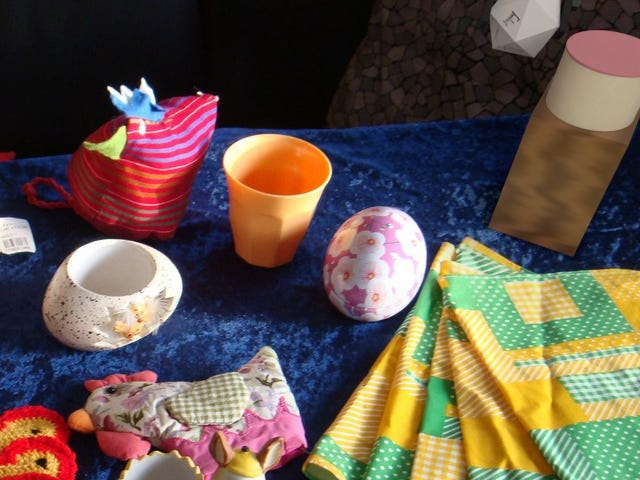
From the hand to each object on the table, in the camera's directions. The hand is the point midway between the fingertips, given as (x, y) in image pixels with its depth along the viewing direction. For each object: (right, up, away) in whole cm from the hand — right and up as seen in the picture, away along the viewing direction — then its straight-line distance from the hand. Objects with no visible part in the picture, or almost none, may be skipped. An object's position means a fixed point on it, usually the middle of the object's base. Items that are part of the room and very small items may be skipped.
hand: (521, 30), depth 103 cm
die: (+1, -1, +5) cm, 5 cm away
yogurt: (+6, -11, -4) cm, 13 cm away
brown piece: (+6, -22, +9) cm, 25 cm away
